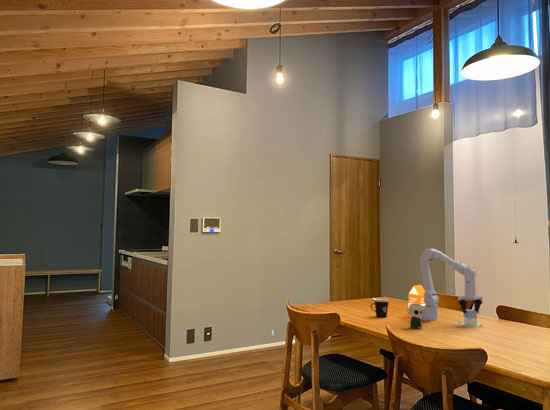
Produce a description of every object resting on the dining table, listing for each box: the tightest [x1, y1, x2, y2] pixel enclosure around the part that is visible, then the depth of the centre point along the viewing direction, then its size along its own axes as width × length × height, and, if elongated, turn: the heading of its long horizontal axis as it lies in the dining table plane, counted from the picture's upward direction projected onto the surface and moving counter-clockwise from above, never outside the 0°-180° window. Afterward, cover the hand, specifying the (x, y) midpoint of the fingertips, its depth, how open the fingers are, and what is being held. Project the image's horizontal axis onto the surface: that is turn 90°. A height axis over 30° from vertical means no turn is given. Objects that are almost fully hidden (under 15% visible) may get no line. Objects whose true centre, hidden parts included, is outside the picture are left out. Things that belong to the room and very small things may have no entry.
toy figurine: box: [406, 303, 424, 329], centre depth 232 cm, size 11×7×13 cm, turn 106°
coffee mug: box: [370, 299, 389, 319], centre depth 263 cm, size 12×9×10 cm
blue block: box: [463, 309, 478, 319], centre depth 240 cm, size 5×5×4 cm
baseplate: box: [455, 321, 487, 328], centre depth 239 cm, size 12×12×2 cm
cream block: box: [463, 316, 478, 326], centre depth 239 cm, size 5×5×4 cm
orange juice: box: [408, 284, 425, 318], centre depth 266 cm, size 8×9×20 cm
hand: (470, 312), depth 240 cm, fingers open, 7 cm apart
